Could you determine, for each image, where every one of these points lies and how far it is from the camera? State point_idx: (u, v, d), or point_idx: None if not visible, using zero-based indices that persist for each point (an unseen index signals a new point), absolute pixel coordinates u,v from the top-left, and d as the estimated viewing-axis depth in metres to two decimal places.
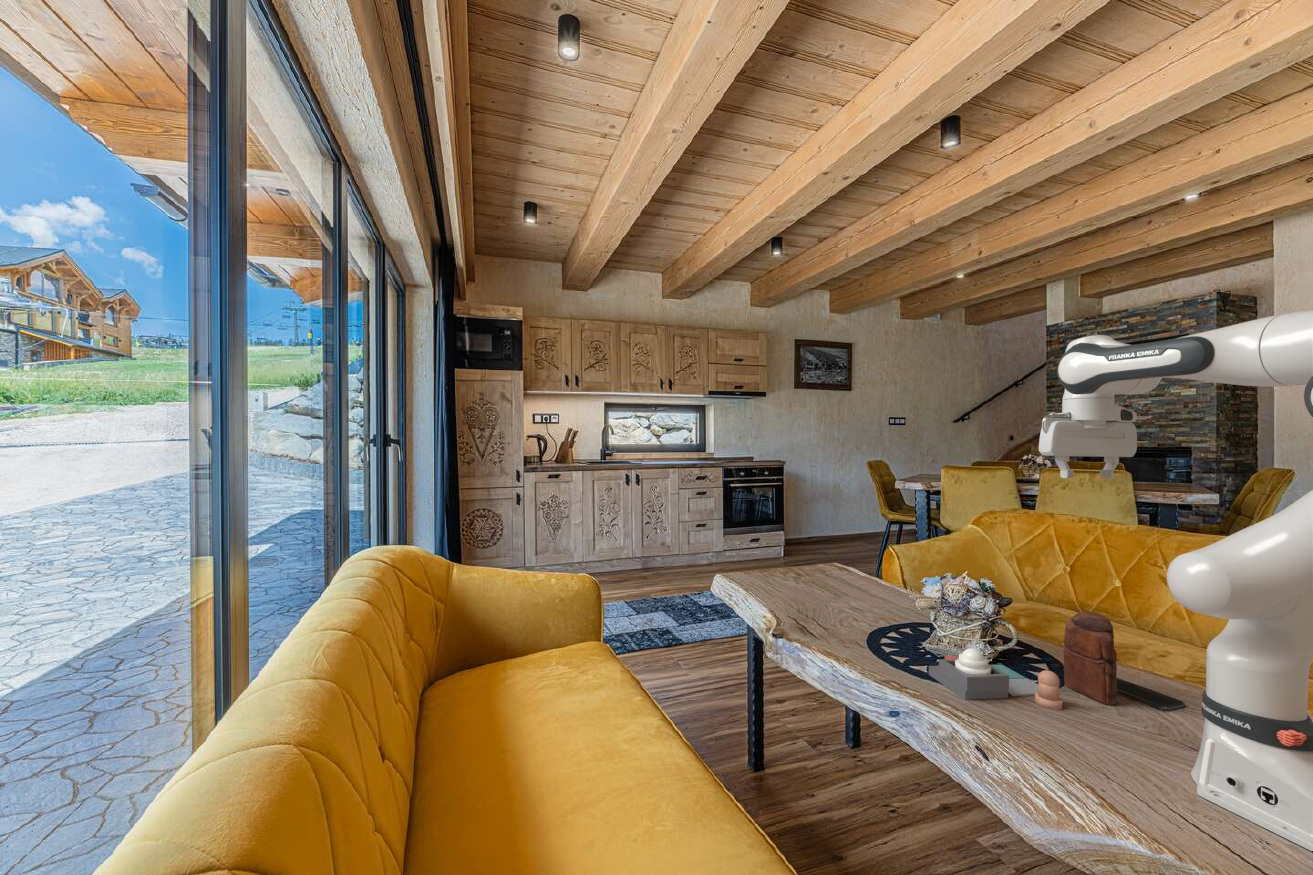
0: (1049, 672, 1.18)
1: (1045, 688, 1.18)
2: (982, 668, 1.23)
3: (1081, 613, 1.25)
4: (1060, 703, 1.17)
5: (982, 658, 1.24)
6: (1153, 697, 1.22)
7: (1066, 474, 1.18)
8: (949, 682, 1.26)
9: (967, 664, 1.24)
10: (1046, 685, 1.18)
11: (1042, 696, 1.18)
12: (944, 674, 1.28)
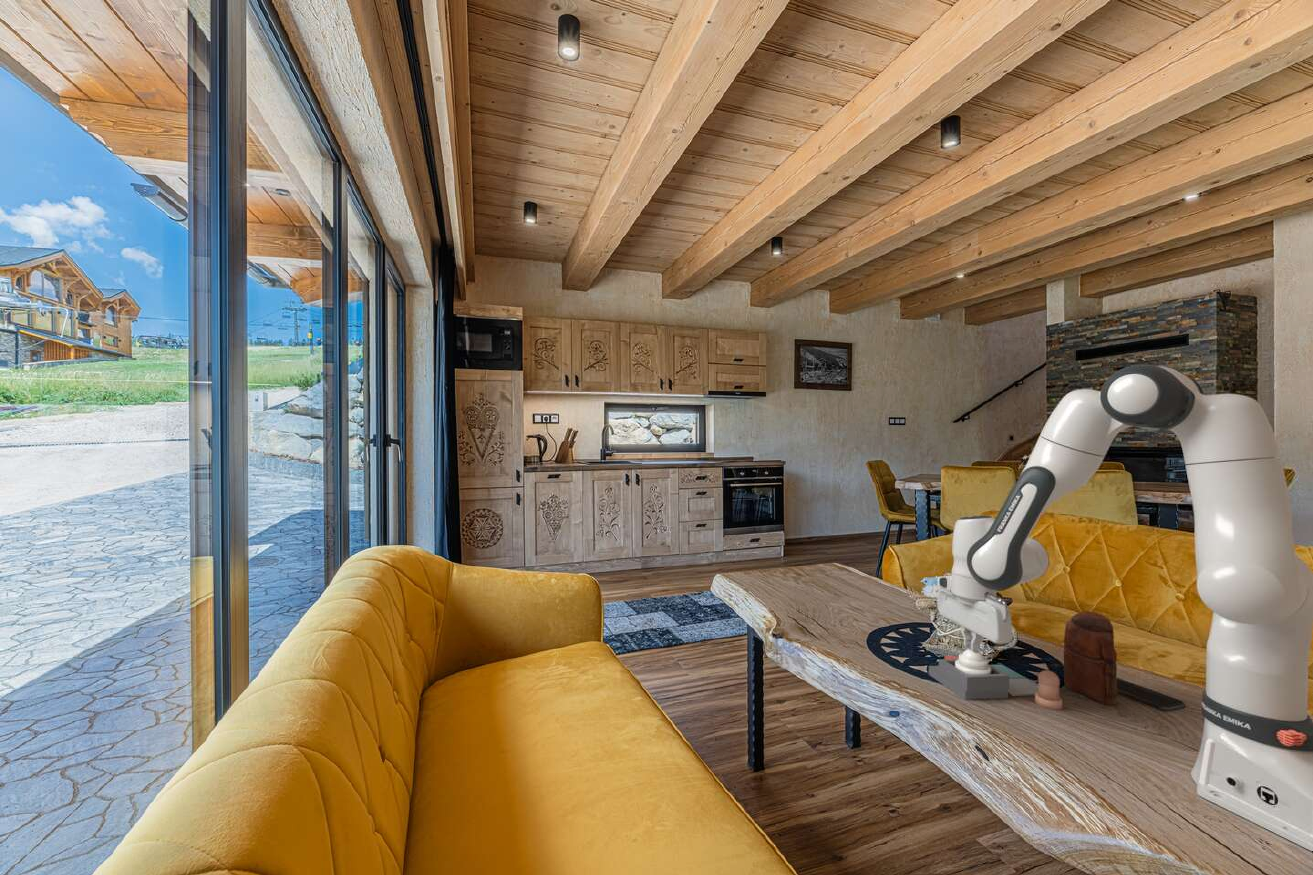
0: (1049, 672, 1.18)
1: (1045, 688, 1.18)
2: (982, 669, 1.23)
3: (1081, 613, 1.25)
4: (1060, 703, 1.17)
5: (982, 659, 1.24)
6: (1153, 697, 1.22)
7: (979, 647, 1.24)
8: (949, 682, 1.26)
9: (967, 665, 1.24)
10: (1046, 685, 1.18)
11: (1042, 696, 1.18)
12: (944, 674, 1.28)
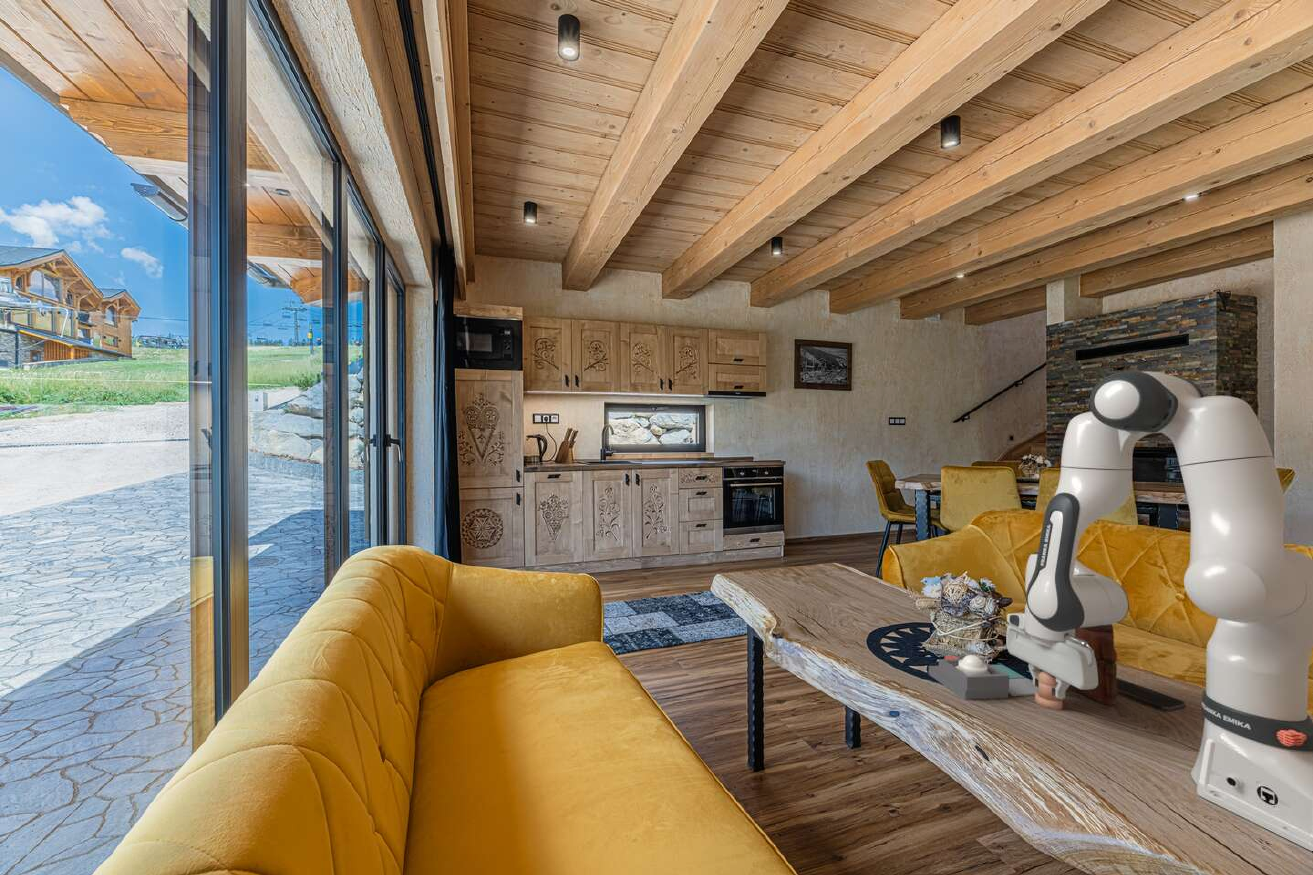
0: None
1: (1045, 688, 1.18)
2: None
3: None
4: (1060, 703, 1.17)
5: (982, 665, 1.24)
6: (1153, 697, 1.22)
7: (1064, 695, 1.16)
8: (949, 682, 1.26)
9: (966, 671, 1.24)
10: (1046, 685, 1.18)
11: (1042, 696, 1.18)
12: (944, 674, 1.28)
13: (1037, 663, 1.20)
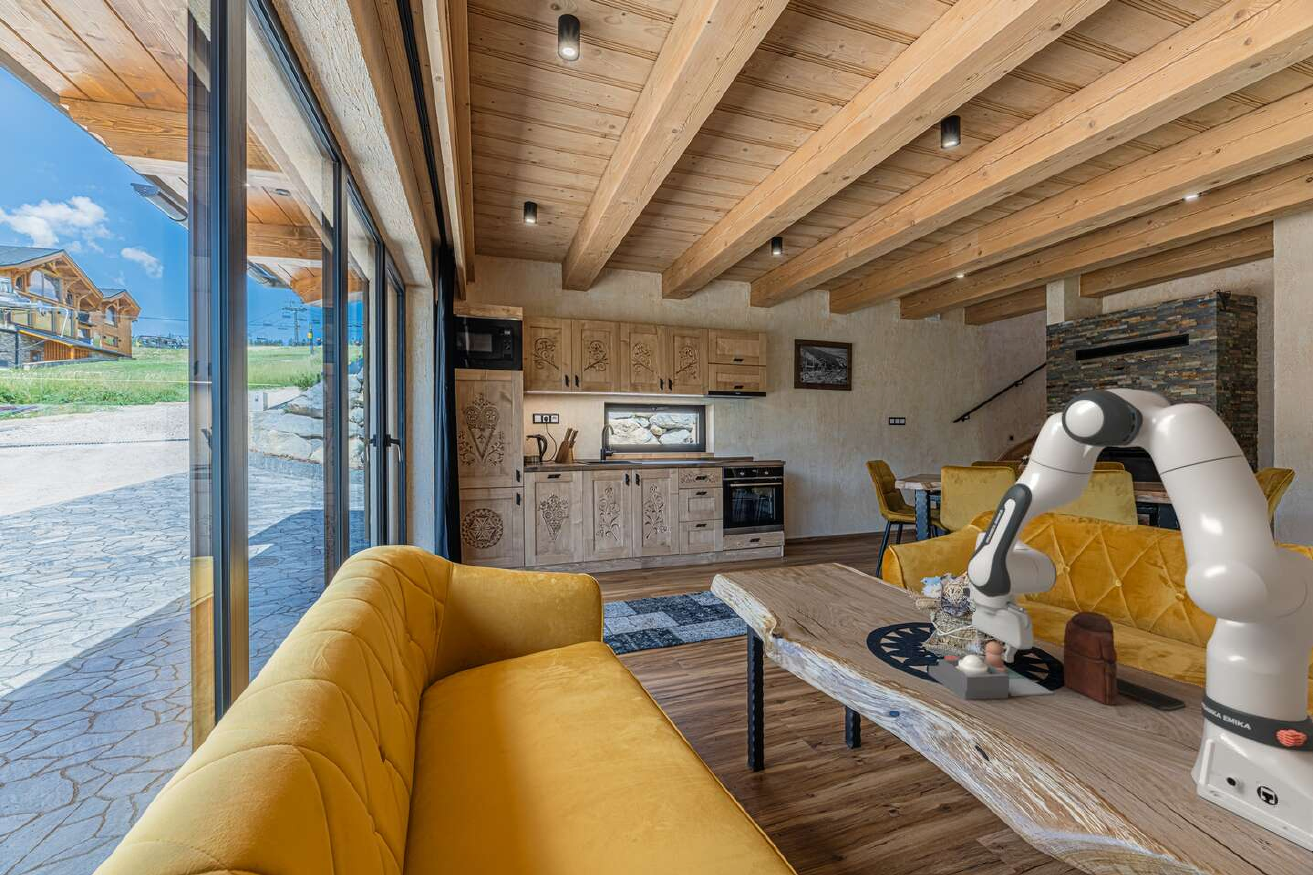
0: (995, 643, 1.34)
1: (991, 657, 1.34)
2: None
3: (1081, 613, 1.25)
4: (1004, 669, 1.32)
5: (982, 665, 1.24)
6: (1153, 697, 1.22)
7: (1012, 659, 1.30)
8: (949, 682, 1.26)
9: (966, 671, 1.24)
10: (992, 654, 1.33)
11: None
12: (944, 674, 1.28)
13: (985, 629, 1.35)
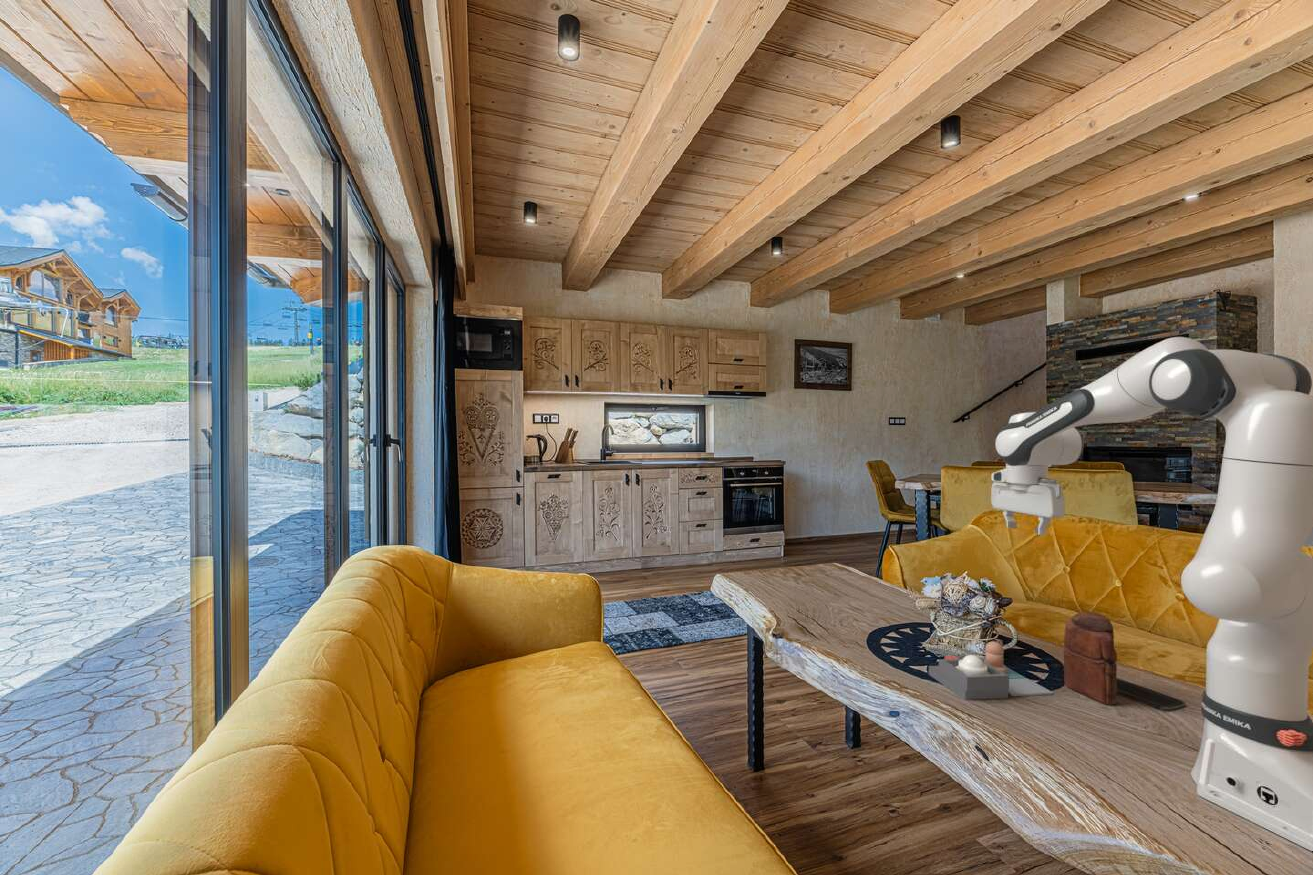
0: (995, 643, 1.34)
1: (991, 657, 1.34)
2: None
3: (1081, 613, 1.25)
4: (1003, 669, 1.32)
5: (982, 665, 1.24)
6: (1153, 697, 1.22)
7: (1045, 531, 1.36)
8: (949, 682, 1.26)
9: (966, 671, 1.24)
10: (992, 654, 1.33)
11: None
12: (944, 674, 1.28)
13: (1016, 508, 1.42)
